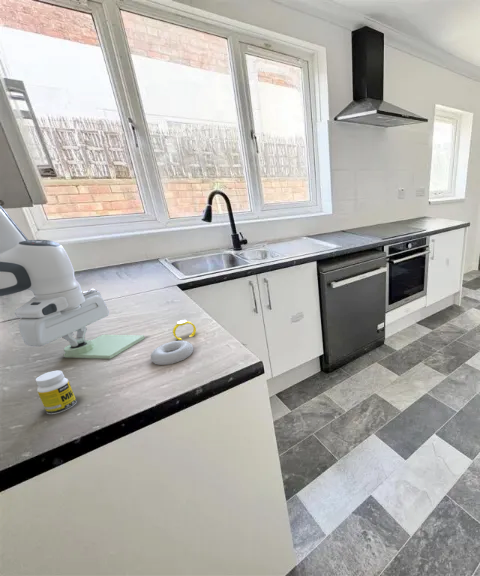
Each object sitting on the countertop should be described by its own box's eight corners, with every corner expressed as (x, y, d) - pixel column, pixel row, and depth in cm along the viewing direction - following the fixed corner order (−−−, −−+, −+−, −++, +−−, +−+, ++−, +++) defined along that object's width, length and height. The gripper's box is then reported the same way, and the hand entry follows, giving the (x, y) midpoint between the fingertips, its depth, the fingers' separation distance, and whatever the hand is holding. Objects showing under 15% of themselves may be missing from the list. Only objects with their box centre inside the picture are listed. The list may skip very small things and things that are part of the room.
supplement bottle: (70, 412, 66) (55, 379, 64) (41, 418, 65) (26, 384, 62) (82, 398, 71) (69, 367, 68) (55, 403, 69) (41, 371, 66)
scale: (61, 359, 87) (57, 350, 86) (102, 338, 98) (99, 329, 97) (109, 360, 86) (106, 351, 85) (145, 339, 97) (142, 330, 96)
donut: (185, 365, 83) (199, 346, 92) (182, 354, 82) (197, 336, 91) (144, 370, 81) (163, 350, 91) (141, 358, 80) (160, 339, 89)
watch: (195, 333, 100) (191, 317, 98) (198, 336, 99) (194, 319, 97) (174, 340, 96) (169, 323, 94) (177, 343, 94) (172, 326, 93)
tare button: (69, 352, 87) (67, 347, 87) (80, 346, 90) (78, 341, 90) (79, 352, 87) (77, 347, 87) (89, 346, 90) (88, 342, 89)
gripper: (87, 286, 94) (102, 327, 98) (5, 314, 74) (28, 363, 79) (107, 287, 93) (120, 328, 98) (29, 314, 74) (51, 364, 79)
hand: (78, 344), depth 88 cm, fingers closed, pressing on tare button
